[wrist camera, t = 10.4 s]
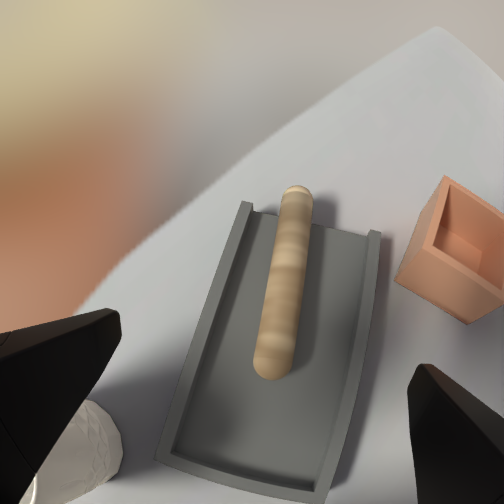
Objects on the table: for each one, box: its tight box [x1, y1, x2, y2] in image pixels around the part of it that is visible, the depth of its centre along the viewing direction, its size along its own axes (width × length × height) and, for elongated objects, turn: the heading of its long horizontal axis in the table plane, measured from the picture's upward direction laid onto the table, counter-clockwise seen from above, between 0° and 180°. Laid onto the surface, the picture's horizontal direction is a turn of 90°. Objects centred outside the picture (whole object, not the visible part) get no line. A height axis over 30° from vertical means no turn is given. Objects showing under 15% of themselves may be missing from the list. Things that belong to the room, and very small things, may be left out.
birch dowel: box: [253, 185, 313, 380], centre depth 19 cm, size 6×2×12 cm
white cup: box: [19, 399, 123, 504], centre depth 12 cm, size 8×8×10 cm
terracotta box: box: [394, 175, 504, 325], centre depth 19 cm, size 7×7×5 cm
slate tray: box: [154, 201, 381, 504], centre depth 18 cm, size 18×10×2 cm, turn 164°
